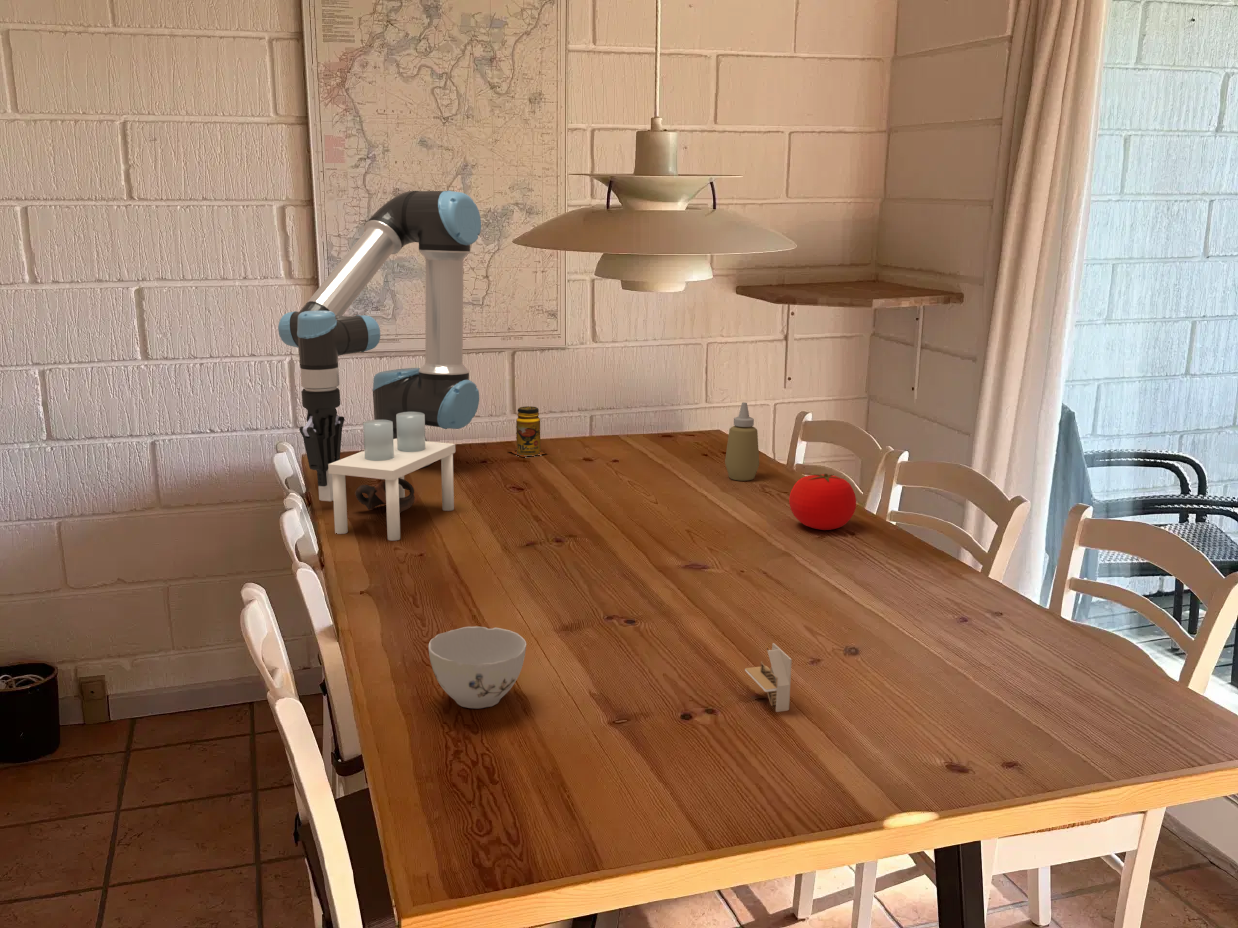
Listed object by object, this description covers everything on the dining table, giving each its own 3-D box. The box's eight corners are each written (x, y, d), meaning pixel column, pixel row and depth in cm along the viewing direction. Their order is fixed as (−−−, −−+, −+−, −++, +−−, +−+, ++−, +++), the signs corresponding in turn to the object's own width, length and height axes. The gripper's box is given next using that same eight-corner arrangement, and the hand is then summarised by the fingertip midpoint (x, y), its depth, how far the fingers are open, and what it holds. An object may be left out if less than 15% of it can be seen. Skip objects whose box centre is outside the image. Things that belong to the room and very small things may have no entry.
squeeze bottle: (735, 472, 266) (737, 398, 262) (765, 477, 262) (768, 402, 258) (717, 479, 260) (720, 403, 256) (748, 484, 255) (751, 407, 251)
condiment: (523, 458, 278) (523, 411, 275) (506, 452, 285) (506, 406, 282) (548, 454, 282) (548, 408, 279) (531, 448, 289) (530, 403, 286)
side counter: (397, 501, 238) (395, 438, 234) (456, 508, 233) (455, 443, 230) (331, 533, 215) (328, 464, 211) (395, 541, 210) (392, 470, 207)
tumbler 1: (374, 453, 221) (373, 418, 219) (399, 455, 219) (398, 420, 217) (359, 459, 216) (357, 423, 214) (384, 461, 214) (383, 426, 212)
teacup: (535, 715, 141) (535, 656, 139) (436, 726, 137) (434, 666, 135) (513, 667, 155) (512, 613, 153) (422, 677, 151) (421, 622, 150)
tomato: (865, 532, 220) (869, 478, 217) (807, 538, 215) (810, 483, 213) (834, 516, 231) (837, 464, 228) (778, 521, 226) (780, 469, 224)
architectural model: (765, 716, 142) (767, 662, 140) (744, 693, 149) (746, 641, 147) (789, 713, 143) (792, 659, 141) (767, 691, 150) (770, 639, 148)
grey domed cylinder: (403, 444, 228) (402, 410, 226) (429, 446, 227) (428, 412, 225) (392, 450, 223) (391, 416, 221) (419, 452, 222) (418, 418, 220)
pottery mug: (407, 505, 237) (417, 476, 232) (408, 535, 230) (418, 507, 225) (350, 495, 233) (360, 466, 228) (349, 526, 225) (359, 496, 221)
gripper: (322, 381, 233) (329, 490, 238) (285, 392, 221) (292, 506, 226) (353, 384, 230) (359, 493, 236) (317, 394, 218) (324, 509, 224)
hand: (326, 499), depth 231 cm, fingers closed
